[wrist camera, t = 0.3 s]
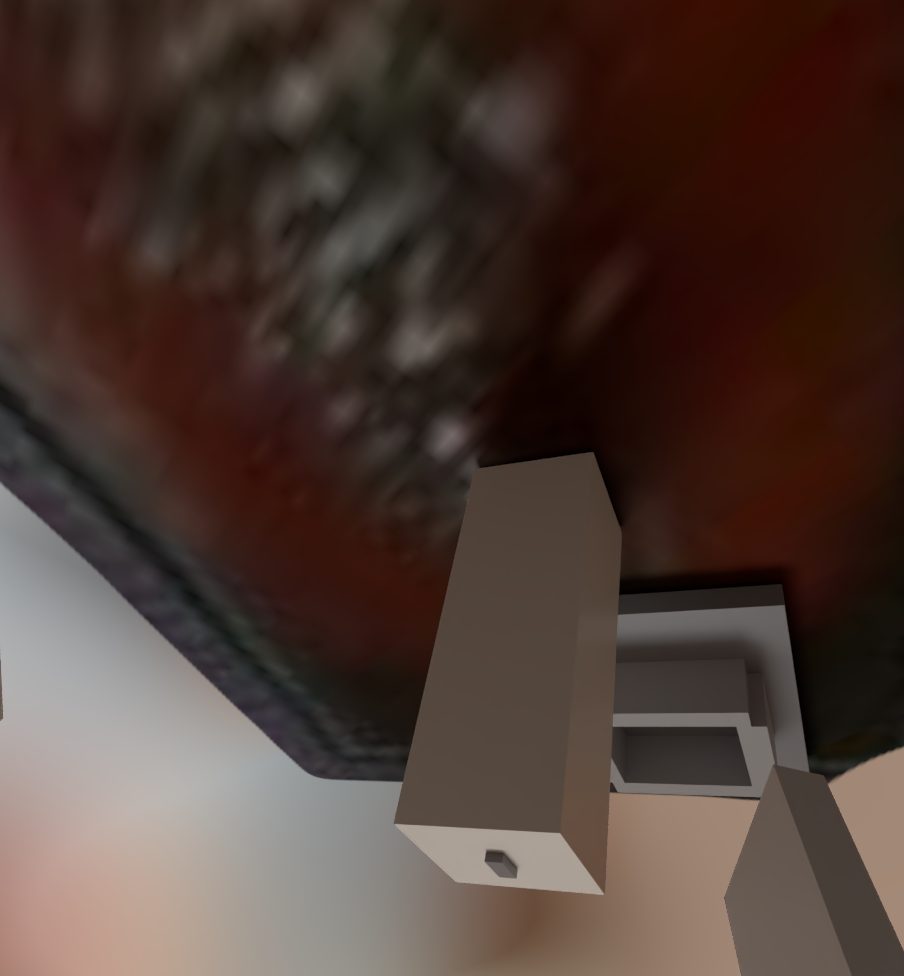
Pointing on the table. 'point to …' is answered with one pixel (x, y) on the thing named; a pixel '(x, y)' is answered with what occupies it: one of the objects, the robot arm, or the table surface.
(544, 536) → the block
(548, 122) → the table surface
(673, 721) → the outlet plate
